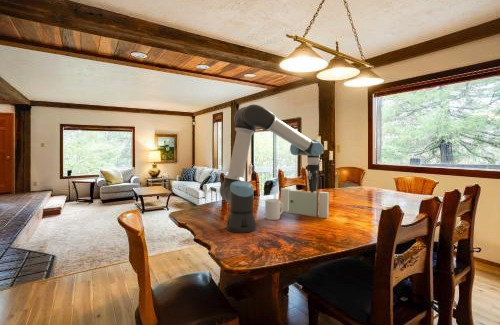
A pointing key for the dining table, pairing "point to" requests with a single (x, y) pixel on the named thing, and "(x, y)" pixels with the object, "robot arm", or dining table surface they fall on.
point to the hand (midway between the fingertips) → (312, 201)
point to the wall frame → (322, 202)
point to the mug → (272, 209)
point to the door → (303, 203)
